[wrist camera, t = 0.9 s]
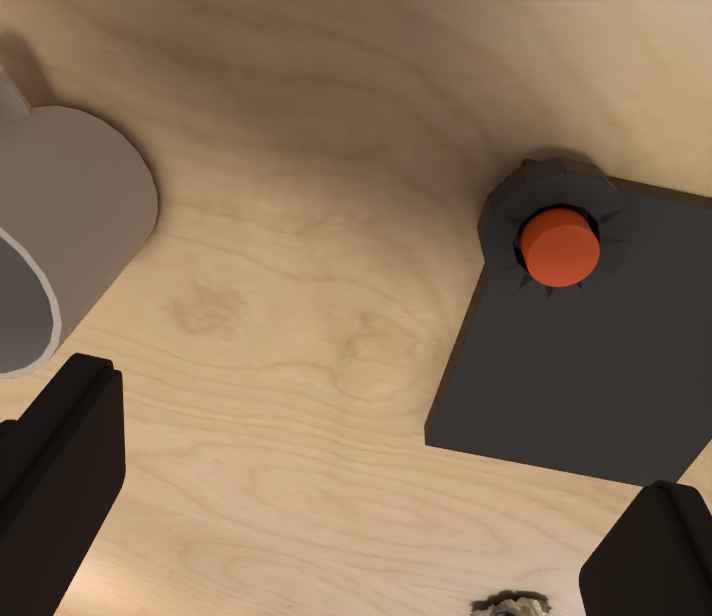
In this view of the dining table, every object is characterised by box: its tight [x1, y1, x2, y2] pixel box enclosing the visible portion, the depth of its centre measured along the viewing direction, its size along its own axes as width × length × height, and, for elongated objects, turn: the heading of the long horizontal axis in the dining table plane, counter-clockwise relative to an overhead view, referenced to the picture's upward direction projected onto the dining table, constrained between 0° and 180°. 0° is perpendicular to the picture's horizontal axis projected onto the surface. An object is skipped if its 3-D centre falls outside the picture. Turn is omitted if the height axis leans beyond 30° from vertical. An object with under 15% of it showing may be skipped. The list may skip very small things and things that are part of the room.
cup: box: [0, 71, 158, 379], centre depth 21 cm, size 7×10×9 cm
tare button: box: [520, 208, 600, 287], centre depth 21 cm, size 3×3×2 cm
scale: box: [424, 157, 712, 487], centre depth 26 cm, size 17×15×3 cm
